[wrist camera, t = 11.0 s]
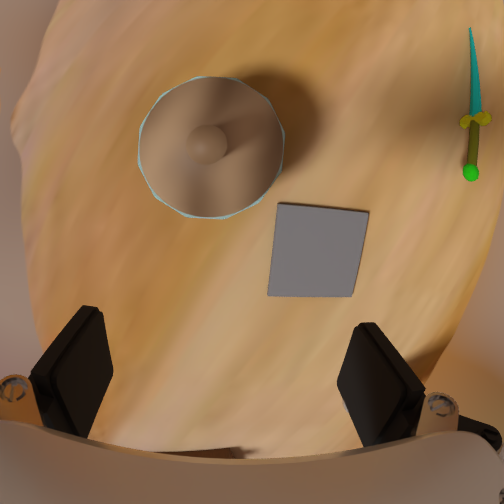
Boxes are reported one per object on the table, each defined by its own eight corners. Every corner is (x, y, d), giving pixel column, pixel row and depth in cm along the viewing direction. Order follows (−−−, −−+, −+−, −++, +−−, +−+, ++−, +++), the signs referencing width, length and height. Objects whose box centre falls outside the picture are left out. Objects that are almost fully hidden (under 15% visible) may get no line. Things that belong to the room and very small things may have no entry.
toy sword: (480, 177, 28) (475, 18, 23) (450, 177, 34) (454, 28, 29) (490, 184, 28) (485, 27, 23) (461, 183, 34) (464, 36, 29)
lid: (286, 86, 23) (304, 69, 17) (274, 219, 27) (287, 237, 21) (148, 79, 21) (128, 62, 16) (140, 212, 25) (119, 229, 20)
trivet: (366, 212, 36) (368, 213, 35) (349, 295, 40) (351, 297, 39) (277, 203, 35) (278, 204, 34) (267, 294, 38) (267, 296, 38)
